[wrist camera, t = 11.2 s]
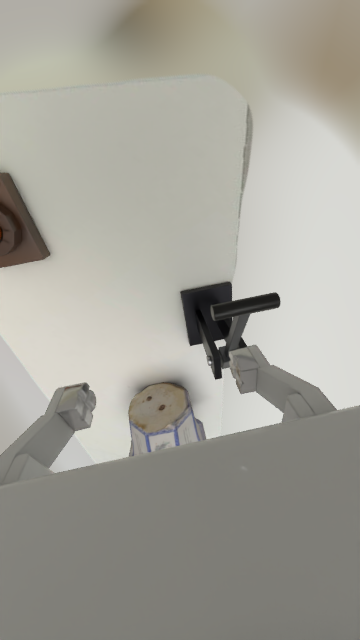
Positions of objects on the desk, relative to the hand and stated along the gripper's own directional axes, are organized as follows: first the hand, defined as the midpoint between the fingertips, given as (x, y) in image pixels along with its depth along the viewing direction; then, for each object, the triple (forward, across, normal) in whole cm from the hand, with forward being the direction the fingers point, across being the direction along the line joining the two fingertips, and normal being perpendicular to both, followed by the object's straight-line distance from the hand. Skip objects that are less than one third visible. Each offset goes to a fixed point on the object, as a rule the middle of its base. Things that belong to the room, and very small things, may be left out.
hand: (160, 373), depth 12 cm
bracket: (+25, -8, +14) cm, 29 cm away
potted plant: (+25, +7, +42) cm, 49 cm away
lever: (+11, -8, +7) cm, 15 cm away
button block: (+25, +19, -8) cm, 32 cm away
